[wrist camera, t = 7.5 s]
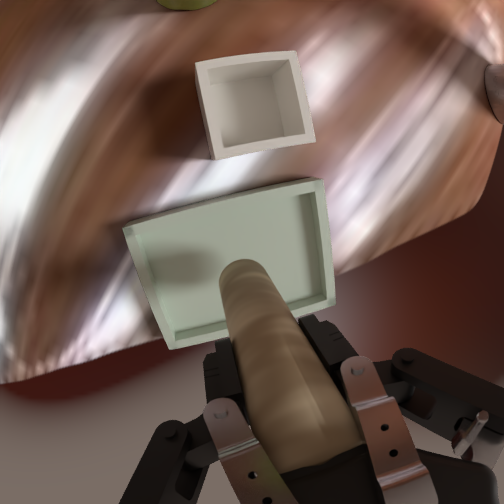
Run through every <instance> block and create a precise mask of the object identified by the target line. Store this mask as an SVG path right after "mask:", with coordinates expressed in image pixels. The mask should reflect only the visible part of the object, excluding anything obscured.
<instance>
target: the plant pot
mask: <svg viewBox="0 0 504 504" xmlns="http://www.w3.org/2000/svg"><path fill="white" fill-rule="evenodd" d="M156 1H157V2H158V3H160V4H161V5H163V6H164V7H166V8H169V9H173V10H176V9H182V10H196V9H200V8H204V7H206V6H209V5H211V4H213V3H214V2H216V1H217V0H156Z"/></svg>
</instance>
